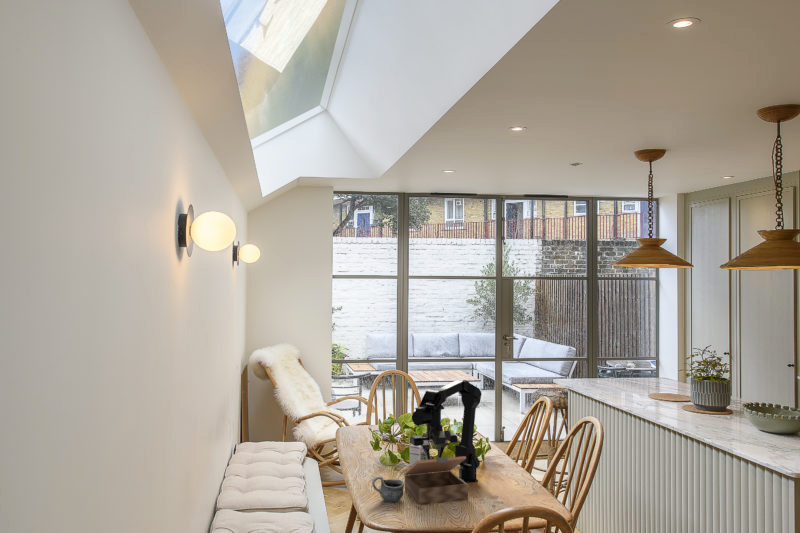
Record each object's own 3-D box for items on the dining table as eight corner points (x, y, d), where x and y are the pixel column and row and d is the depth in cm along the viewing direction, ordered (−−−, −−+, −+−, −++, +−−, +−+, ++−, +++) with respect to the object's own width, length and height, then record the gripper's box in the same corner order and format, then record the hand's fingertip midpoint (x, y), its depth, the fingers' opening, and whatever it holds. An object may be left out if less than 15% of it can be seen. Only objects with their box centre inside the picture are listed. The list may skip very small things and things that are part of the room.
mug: (408, 503, 235) (408, 476, 235) (378, 508, 230) (378, 481, 230) (397, 495, 244) (397, 469, 244) (368, 499, 238) (368, 473, 239)
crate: (450, 485, 256) (450, 470, 256) (468, 499, 238) (468, 484, 239) (404, 490, 249) (404, 475, 250) (419, 505, 232) (419, 489, 232)
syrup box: (420, 480, 262) (420, 446, 262) (409, 477, 266) (409, 444, 266) (427, 477, 267) (427, 443, 267) (416, 474, 270) (416, 441, 271)
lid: (451, 472, 255) (450, 467, 256) (467, 460, 240) (466, 455, 241) (404, 477, 249) (403, 472, 250) (418, 464, 234) (417, 459, 235)
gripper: (418, 427, 236) (418, 468, 236) (463, 424, 242) (463, 464, 241) (409, 421, 247) (409, 460, 246) (452, 418, 252) (452, 456, 252)
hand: (433, 460), depth 246 cm, fingers open, 4 cm apart
